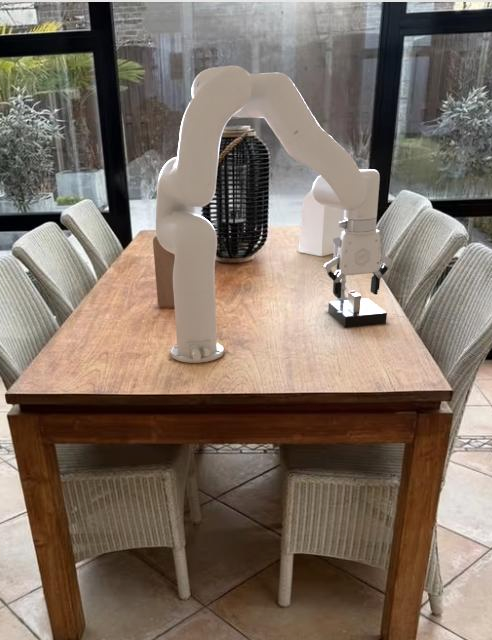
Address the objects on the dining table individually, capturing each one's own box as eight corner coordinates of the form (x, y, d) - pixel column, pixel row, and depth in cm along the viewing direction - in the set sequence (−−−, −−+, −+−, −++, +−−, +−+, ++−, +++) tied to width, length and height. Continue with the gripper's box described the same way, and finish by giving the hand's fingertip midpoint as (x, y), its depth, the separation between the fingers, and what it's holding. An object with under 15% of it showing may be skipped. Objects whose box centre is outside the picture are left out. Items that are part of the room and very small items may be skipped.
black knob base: (386, 324, 169) (387, 312, 167) (341, 328, 168) (342, 316, 166) (366, 309, 181) (367, 297, 179) (324, 312, 180) (325, 301, 178)
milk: (320, 246, 252) (323, 173, 239) (343, 250, 244) (348, 174, 231) (298, 251, 246) (300, 176, 233) (321, 256, 238) (325, 178, 225)
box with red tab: (359, 313, 168) (361, 294, 166) (353, 313, 168) (354, 295, 166) (353, 308, 172) (355, 289, 170) (347, 308, 172) (348, 290, 170)
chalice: (325, 307, 184) (329, 241, 175) (332, 301, 189) (336, 236, 180) (351, 310, 181) (356, 242, 172) (358, 303, 186) (363, 237, 177)
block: (190, 308, 190) (186, 237, 179) (157, 308, 192) (151, 237, 181) (197, 299, 198) (194, 230, 188) (165, 299, 200) (160, 230, 190)
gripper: (330, 231, 156) (327, 302, 164) (400, 224, 157) (393, 295, 166) (321, 225, 162) (318, 294, 171) (388, 219, 163) (382, 288, 172)
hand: (355, 295), depth 168 cm, fingers open, 9 cm apart
